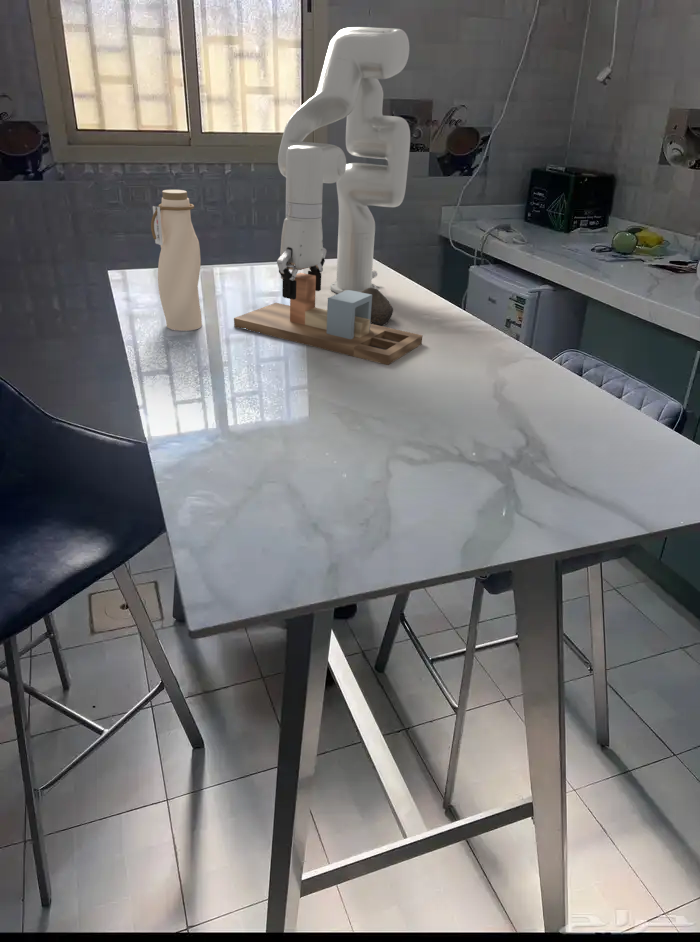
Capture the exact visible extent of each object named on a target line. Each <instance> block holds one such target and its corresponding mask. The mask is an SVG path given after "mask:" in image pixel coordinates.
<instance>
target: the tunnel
mask: <svg viewBox="0 0 700 942" xmlns="http://www.w3.org/2000/svg"><path fill="white" fill-rule="evenodd" d="M371 306H372V295H371V294H366V293H361V292H357V291H352V290H346V291H344V292H341V293H336V294H334V295H332V296H329V297H327V309H326V310H327V334H330V335H334V336H339V337H343V338H347V339H353V338H354V322H355V316H357V317H361V318H366V319H370V323H371ZM369 330H370V327H369Z"/></svg>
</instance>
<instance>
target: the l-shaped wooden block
mask: <svg viewBox="0 0 700 942" xmlns="http://www.w3.org/2000/svg"><path fill="white" fill-rule="evenodd" d="M294 280H296V299H294V300H293V299H289V306H290V321H291V322H295V323H299V324H304V325H308V326H312V327H317V328H321V329H325V330H327V309H324V308H320V307H316V292H317V291H316V276H315V275H310V274H308V273H304V272H299V273H298V272H297V274H296V277H295V279H294ZM370 324H371V322H370V319H366V318H361V317H357V316H355V322H354V336H355V337H359V338H360V337H362V336H364V335H366V334H368V333H369V327H370Z"/></svg>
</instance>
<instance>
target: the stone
mask: <svg viewBox="0 0 700 942" xmlns="http://www.w3.org/2000/svg"><path fill="white" fill-rule="evenodd" d="M361 293H366V294H371V295H372V306H371V322H370V324H374V325H378V326H385V325H386V324H388V323H389V322H390V320H391V318H392V316H393V313H394V307H393V306H392V304H391V303H390V301H389V300H388V299H387V298H386V296H384V295H383V294H382V293H381V291H379V290H378V288H377V289H375V288H368V289H365V290H364V291H362V292H361Z"/></svg>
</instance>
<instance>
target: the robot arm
mask: <svg viewBox="0 0 700 942" xmlns="http://www.w3.org/2000/svg"><path fill="white" fill-rule="evenodd" d="M409 55H410V41H409V37H408V34H407V32H405V30H403V29H402V28H401V29H400V28H393V27H390V28H388V27H371V26H369V27H368V26H350V27H349V26H348V27H345V28H342V29H340V30H338V31H337V32H336V34H335V35H334V36H333V37H332V38H331V40H330V41H329V44H328V48H327V51H326V55H325V58H324V61H323V65H322V70H321V73H320V77H319V80H318V84H317V89H316V92H315V93H314V95H313V96H312V97H310V98H308V99H307V100H306V101H305V102H304V103H303V104H302V105H300V107H298V108H297V110H296V111H295V112H294V113H293V114H292V115H290V117H289V119H288V120H287V122H286V125H285V126H284V130H283V133H282V137H281V141H280V145H279V150H278V154H277V157H278V158H277V165H278V170H279V172H280V174H281V175H282V176H283V177H285V218H284V220H283V224H282V229H281V236H280V237H281V238H280V239H281V240H280V250H279V251H280V256H279V257H278V259H277V260H276V264H277V268H278V272H279V274H280V278H281V279H282V297H283V298H284V299H289V300H290V299H293V300H294V299H296V280H294V279H295V277H296V274H298V272H299V271H302V270H305V269H309V270H307V274H310V275H315V276H316V291H315V292H320V291H321V290H322V272H323V271H324V265H325V262H326V260H325V259H326V256H327V249H326V248H325V247H323V245H324V244H323V243H324V242H323V241H324V240H323V224H322V219H323V194H324V193H323V190H324V189H323V187H324V184H335V183H336V192H337V202H338V231H337V232H338V233H337V234H338V236H337V257H336V259H337V260H336V280H335V281H334V282H331V283H330V286H329V287H330V290H331V291H332V292H333V293H336V294H339V293H341V292H344V291H346V290H352V291H357V292H362V291H364V290H365V289H368V288H375V289H377V290H378V287H377V285H375V284H374V283H373V282H372V280H373V279H375V278H377V277H378V272H377V271H376V270H373V266H374V265H373V264H374V249H375V247H374V246H375V233H376V222H375V218H374V216H373V213H372V212H371V210H370V208H369V206H376V207H384V208H396V207H399V206H400V205H401V204H402V203H403V201H404V199H405V194H406V190H407V189H406V187H407V178H408V171H409V170H408V168H409V159H410V148H411V130H410V125H409V123H408V121H407V119H405V118H403V117H401V116H395V115H393V116H392V115H384V114H383V105H384V104H383V103H384V102H383V101H384V90H383V86H382V84H381V83H380V80H386V79H390V78H392V77H394V76H396V75H398V74H399V73H401V72H402V71H403V70H404V68H405V66H406V65H407V62H408V61H409V60H408V59H409ZM345 118H346V124H345V125H346V126H345V147H346V151H347V152H348V153H349V154H350V155H351V156H354V157H358V158H359V157H360V158H368V159H378V160H380V159H381V160H386V161H387V164H388V165H384V164H374V163H363V162H351V163H347V157H346V154H345V152H344V151H343V149H342V148H341V147H339V146H338V145H336V144H335V145H334V144H329V143H320V142H319V143H318V142H309V141H308V142H307V141H304V140H305V139H306V138H307V136H308V135H310V134H311V133H313V132H314V131H316V130H318V129H320V128H321V127H325V126H327V125H330V124H333V123H335V122H337V121H339V120H343V119H345ZM290 270H291V271H290Z"/></svg>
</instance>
